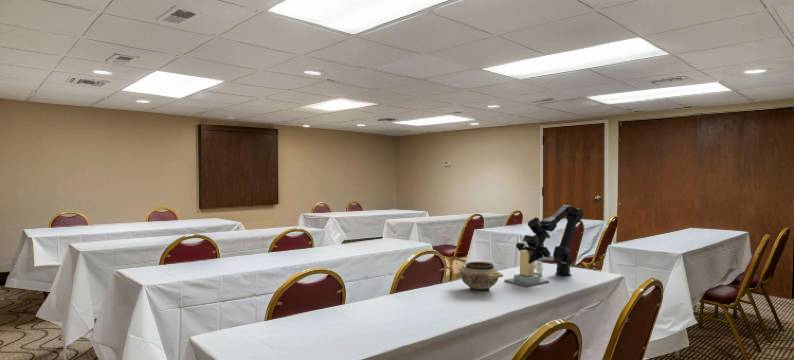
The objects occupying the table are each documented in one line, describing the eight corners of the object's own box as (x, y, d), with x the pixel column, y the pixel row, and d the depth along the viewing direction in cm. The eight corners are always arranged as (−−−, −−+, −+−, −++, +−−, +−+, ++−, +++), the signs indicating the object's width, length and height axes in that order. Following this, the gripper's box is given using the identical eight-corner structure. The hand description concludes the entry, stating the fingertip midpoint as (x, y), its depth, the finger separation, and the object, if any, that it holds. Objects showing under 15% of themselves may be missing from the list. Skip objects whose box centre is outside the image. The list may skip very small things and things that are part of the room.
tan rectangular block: (526, 273, 240) (526, 249, 240) (533, 274, 236) (533, 250, 236) (519, 274, 238) (519, 250, 237) (527, 276, 234) (527, 251, 233)
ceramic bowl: (508, 299, 214) (513, 267, 217) (485, 295, 203) (491, 262, 206) (468, 289, 233) (473, 260, 235) (445, 285, 222) (451, 255, 224)
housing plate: (527, 277, 248) (527, 271, 248) (548, 282, 236) (548, 275, 236) (504, 281, 238) (504, 274, 238) (525, 287, 226) (525, 280, 226)
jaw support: (548, 267, 259) (545, 257, 253) (545, 280, 254) (541, 271, 248) (528, 265, 266) (523, 255, 260) (524, 278, 261) (520, 268, 255)
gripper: (518, 227, 247) (503, 249, 241) (546, 231, 231) (532, 255, 225) (527, 240, 251) (514, 263, 245) (556, 245, 236) (542, 269, 230)
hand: (525, 262), depth 236 cm, fingers closed on tan rectangular block, 5 cm apart
